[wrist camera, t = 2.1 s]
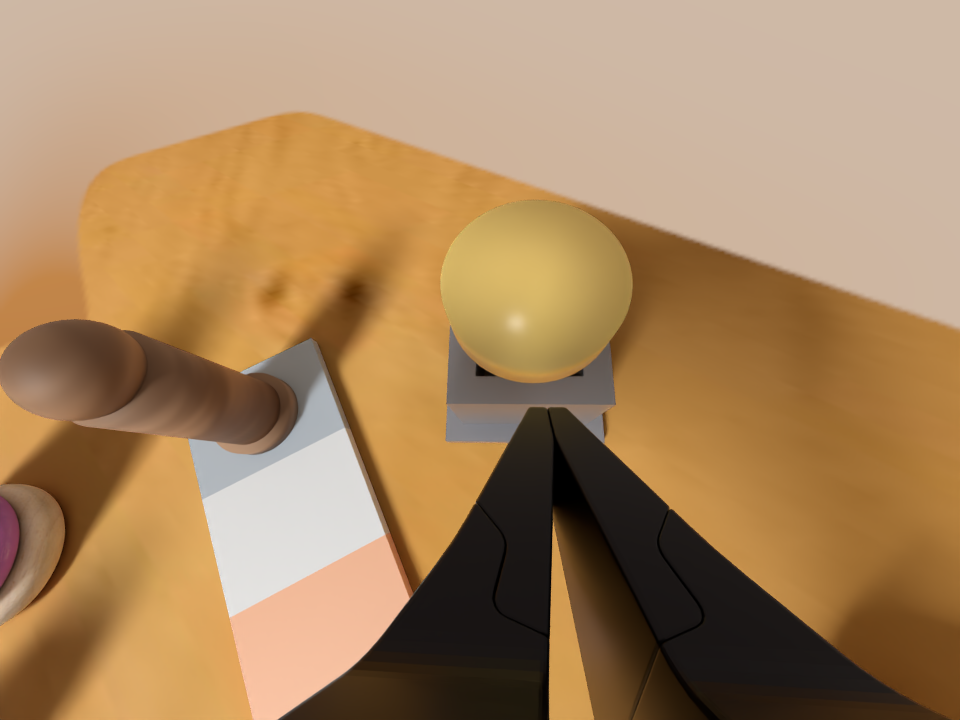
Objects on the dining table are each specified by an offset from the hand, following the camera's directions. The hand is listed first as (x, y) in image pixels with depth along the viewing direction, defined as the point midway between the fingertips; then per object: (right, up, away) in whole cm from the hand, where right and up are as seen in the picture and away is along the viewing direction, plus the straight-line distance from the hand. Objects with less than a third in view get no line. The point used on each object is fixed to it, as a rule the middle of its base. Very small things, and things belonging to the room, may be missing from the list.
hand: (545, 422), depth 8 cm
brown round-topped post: (-15, -2, +14) cm, 21 cm away
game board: (-12, -8, +13) cm, 19 cm away
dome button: (+1, +2, +11) cm, 11 cm away
